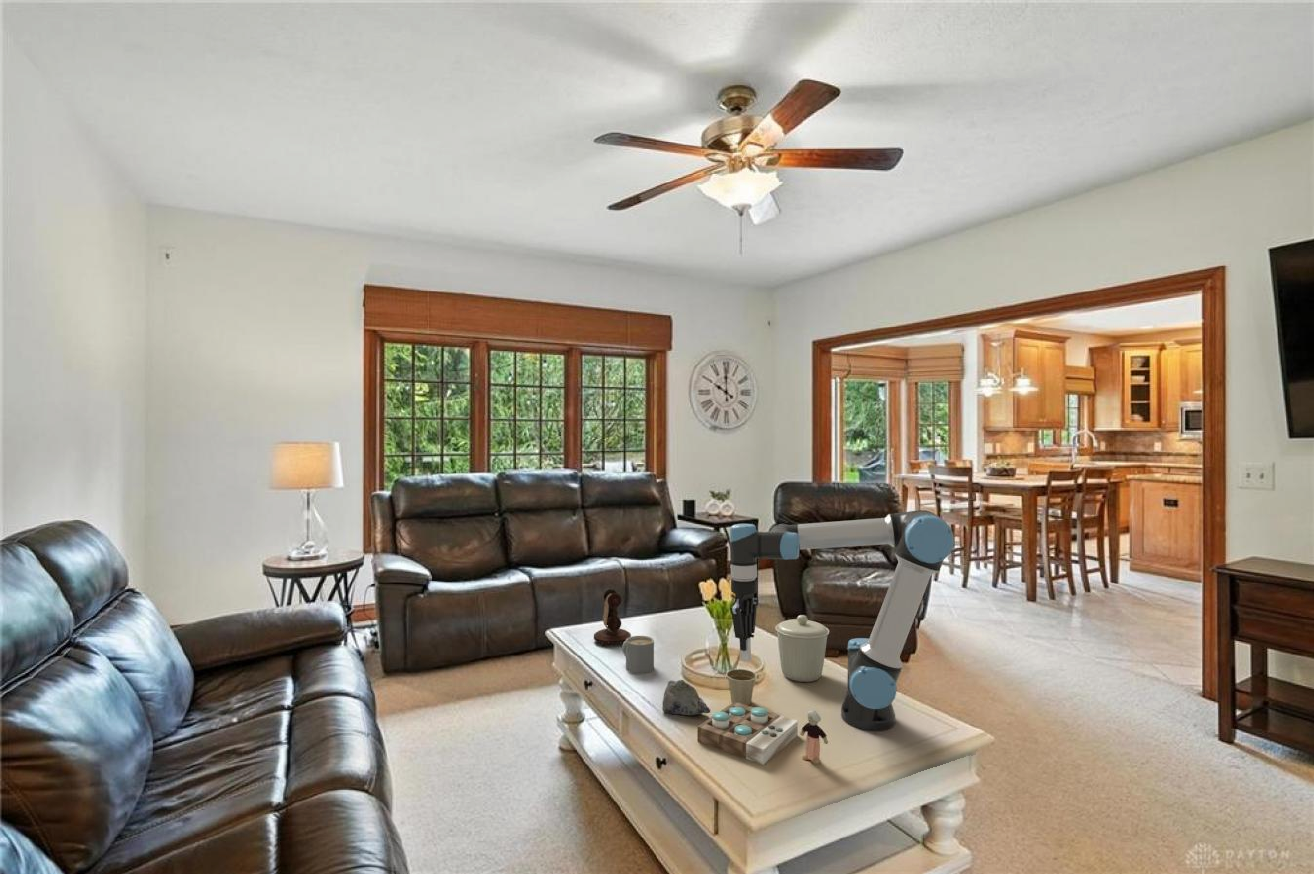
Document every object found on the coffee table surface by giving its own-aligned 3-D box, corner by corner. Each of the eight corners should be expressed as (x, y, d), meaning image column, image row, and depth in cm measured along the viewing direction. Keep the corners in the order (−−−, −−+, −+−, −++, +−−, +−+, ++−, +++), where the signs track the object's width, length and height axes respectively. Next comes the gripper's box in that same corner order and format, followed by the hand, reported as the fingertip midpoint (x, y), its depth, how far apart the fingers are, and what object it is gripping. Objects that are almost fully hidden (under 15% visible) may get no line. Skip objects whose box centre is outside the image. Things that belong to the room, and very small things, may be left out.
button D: (732, 729, 175) (732, 714, 175) (723, 735, 171) (723, 720, 171) (718, 724, 178) (718, 710, 178) (709, 730, 174) (709, 716, 174)
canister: (811, 664, 230) (812, 606, 229) (839, 684, 212) (839, 621, 212) (766, 669, 225) (766, 610, 225) (790, 689, 207) (790, 625, 207)
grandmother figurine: (796, 759, 163) (796, 710, 163) (801, 753, 167) (801, 704, 167) (826, 767, 159) (826, 717, 159) (830, 761, 163) (831, 711, 163)
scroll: (590, 637, 259) (590, 588, 258) (625, 633, 263) (625, 585, 263) (598, 649, 244) (598, 597, 244) (635, 645, 249) (635, 594, 249)
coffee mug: (659, 669, 224) (659, 641, 224) (635, 675, 218) (635, 646, 218) (638, 658, 235) (639, 631, 235) (615, 663, 229) (615, 636, 229)
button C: (748, 723, 182) (748, 709, 182) (740, 729, 179) (740, 715, 178) (734, 719, 185) (734, 705, 185) (726, 724, 181) (726, 710, 181)
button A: (770, 724, 178) (770, 710, 178) (762, 730, 174) (762, 716, 174) (755, 719, 181) (755, 705, 181) (747, 725, 177) (747, 711, 177)
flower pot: (755, 710, 192) (756, 681, 192) (724, 707, 194) (724, 679, 194) (757, 697, 201) (757, 670, 201) (727, 694, 203) (727, 667, 203)
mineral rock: (712, 718, 186) (712, 684, 186) (682, 727, 181) (682, 692, 180) (686, 702, 197) (686, 670, 197) (657, 710, 191) (657, 677, 191)
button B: (754, 743, 171) (754, 728, 171) (746, 750, 167) (746, 734, 167) (739, 738, 174) (739, 723, 174) (731, 744, 170) (731, 729, 170)
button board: (797, 735, 176) (797, 720, 176) (763, 765, 161) (763, 748, 160) (734, 715, 189) (734, 701, 189) (697, 741, 173) (697, 725, 173)
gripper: (743, 572, 190) (744, 651, 190) (720, 581, 179) (722, 665, 179) (765, 575, 185) (767, 656, 185) (744, 584, 175) (746, 670, 175)
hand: (745, 660), depth 182 cm, fingers closed
